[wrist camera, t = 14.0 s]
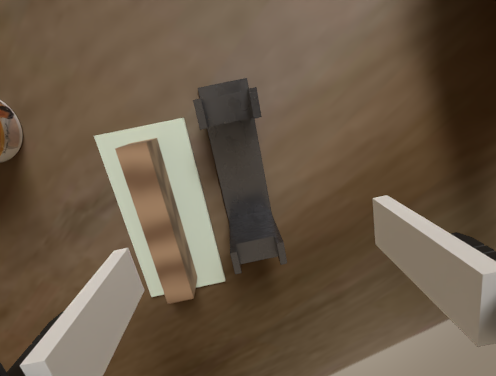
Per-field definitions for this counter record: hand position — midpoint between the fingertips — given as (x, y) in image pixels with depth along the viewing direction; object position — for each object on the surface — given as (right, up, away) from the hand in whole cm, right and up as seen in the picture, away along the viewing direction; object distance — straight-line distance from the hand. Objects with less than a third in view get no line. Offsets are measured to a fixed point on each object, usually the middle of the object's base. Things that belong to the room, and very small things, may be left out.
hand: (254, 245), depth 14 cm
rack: (-2, +6, +28) cm, 29 cm away
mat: (-13, -1, +29) cm, 32 cm away
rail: (-13, -1, +29) cm, 31 cm away
